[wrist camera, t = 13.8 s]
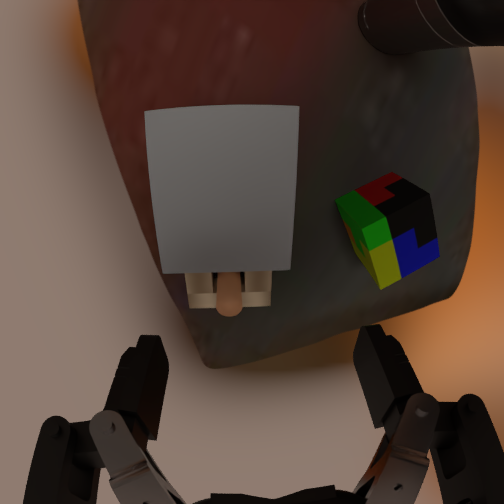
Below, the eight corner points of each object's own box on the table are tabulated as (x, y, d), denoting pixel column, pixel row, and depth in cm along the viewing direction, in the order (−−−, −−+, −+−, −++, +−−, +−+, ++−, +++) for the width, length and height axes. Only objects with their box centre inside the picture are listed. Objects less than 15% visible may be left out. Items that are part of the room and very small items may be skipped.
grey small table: (276, 104, 34) (299, 106, 22) (273, 220, 41) (290, 269, 30) (172, 107, 33) (144, 111, 22) (180, 222, 41) (162, 273, 29)
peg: (239, 254, 44) (242, 295, 35) (239, 272, 45) (242, 316, 37) (217, 255, 44) (215, 296, 35) (218, 273, 45) (217, 316, 36)
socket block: (271, 179, 39) (275, 187, 35) (267, 290, 47) (270, 305, 44) (180, 181, 38) (175, 190, 34) (192, 292, 47) (189, 308, 43)
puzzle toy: (406, 226, 43) (439, 256, 35) (355, 253, 45) (380, 289, 36) (391, 171, 39) (429, 193, 30) (334, 199, 41) (361, 229, 32)
